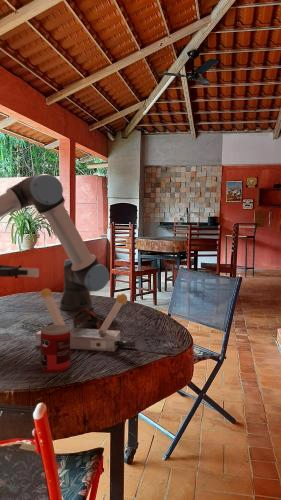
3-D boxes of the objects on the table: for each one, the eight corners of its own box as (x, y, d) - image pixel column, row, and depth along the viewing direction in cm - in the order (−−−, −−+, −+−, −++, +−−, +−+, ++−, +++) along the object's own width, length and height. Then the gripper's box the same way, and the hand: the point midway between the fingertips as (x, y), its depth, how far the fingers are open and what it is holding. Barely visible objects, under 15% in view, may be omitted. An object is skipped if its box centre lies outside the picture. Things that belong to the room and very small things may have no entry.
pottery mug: (99, 332, 140) (88, 314, 138) (77, 341, 142) (66, 324, 139) (104, 316, 151) (94, 299, 149) (84, 325, 153) (73, 308, 151)
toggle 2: (98, 327, 125) (121, 290, 123) (107, 333, 125) (130, 296, 123) (94, 331, 121) (118, 292, 119) (104, 337, 120) (127, 298, 118)
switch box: (47, 337, 131) (47, 326, 131) (137, 343, 126) (138, 332, 125) (35, 346, 121) (35, 334, 121) (132, 353, 116) (132, 340, 116)
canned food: (43, 362, 108) (43, 324, 107) (71, 361, 109) (71, 324, 108) (38, 373, 101) (38, 332, 100) (68, 372, 101) (68, 332, 100)
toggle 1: (60, 330, 127) (42, 289, 127) (69, 326, 127) (51, 285, 127) (55, 334, 123) (36, 292, 123) (64, 330, 122) (46, 287, 122)
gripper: (-17, 277, 135) (46, 281, 131) (-40, 283, 122) (29, 287, 118) (-17, 256, 134) (46, 259, 130) (-40, 260, 121) (29, 263, 118)
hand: (37, 272), depth 124 cm, fingers closed
